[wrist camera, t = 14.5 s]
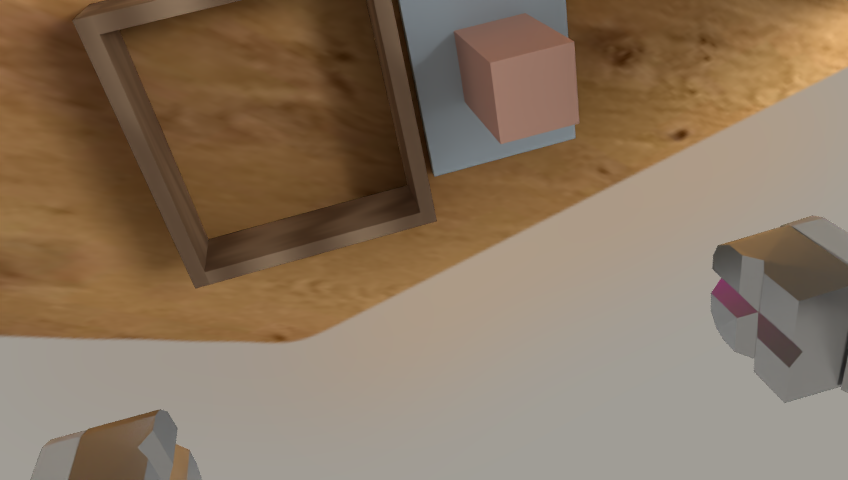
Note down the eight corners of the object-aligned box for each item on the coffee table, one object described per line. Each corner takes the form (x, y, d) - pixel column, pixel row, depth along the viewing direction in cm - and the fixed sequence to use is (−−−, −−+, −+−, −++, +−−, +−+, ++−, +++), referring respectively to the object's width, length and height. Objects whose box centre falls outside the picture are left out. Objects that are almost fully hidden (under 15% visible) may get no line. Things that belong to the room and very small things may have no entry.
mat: (555, -80, 43) (560, -79, 42) (571, 134, 51) (575, 138, 50) (389, -40, 42) (391, -39, 41) (432, 172, 50) (434, 176, 49)
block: (525, 12, 45) (574, 41, 38) (532, 84, 47) (579, 123, 40) (453, 30, 44) (490, 62, 37) (464, 102, 47) (500, 144, 40)
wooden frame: (368, -62, 41) (380, -54, 37) (422, 193, 50) (436, 221, 47) (89, 4, 39) (72, 20, 36) (199, 254, 49) (195, 288, 45)
